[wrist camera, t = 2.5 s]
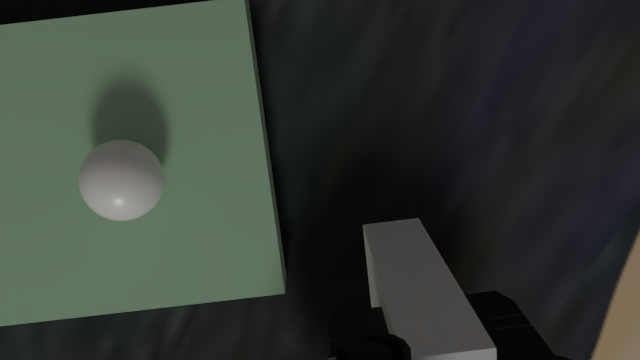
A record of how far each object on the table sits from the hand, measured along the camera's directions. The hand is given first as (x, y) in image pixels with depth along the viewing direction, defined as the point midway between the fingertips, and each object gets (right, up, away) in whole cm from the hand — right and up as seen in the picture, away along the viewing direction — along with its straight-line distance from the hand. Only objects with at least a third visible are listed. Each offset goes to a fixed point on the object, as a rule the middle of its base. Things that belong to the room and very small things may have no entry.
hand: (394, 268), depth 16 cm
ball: (-12, +2, +13) cm, 18 cm away
